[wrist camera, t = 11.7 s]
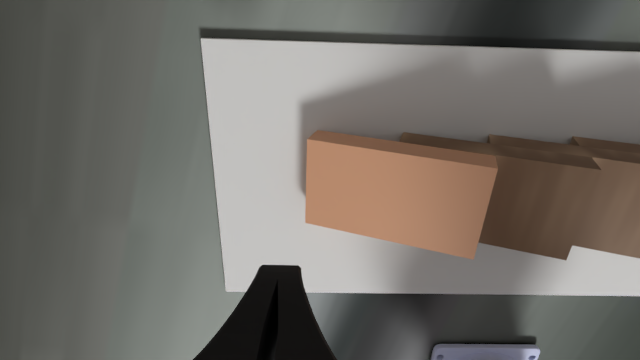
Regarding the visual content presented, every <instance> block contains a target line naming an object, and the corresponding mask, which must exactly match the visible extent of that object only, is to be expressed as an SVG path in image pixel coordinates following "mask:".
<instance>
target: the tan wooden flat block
mask: <svg viewBox="0 0 640 360" xmlns="http://www.w3.org/2000/svg"><path fill="white" fill-rule="evenodd" d="M497 171H498V166H497V161H496V156H493V155H486V154H479V153H472V152H465V151H459V150H452V149H445V148H438V147H431V146H424V145H417V144H411V143H404V142H397V141H390V140H383V139H376V138H369V137H363V136H356V135H349V134H342V133H335V132H328V131H321V130H317V131H316V132H315V133H313V134H312V135H311V136H310V137H309V138H308V139H307V165H306V208H305V223H308V224H313V225H317V226H322V227H326V228H331V229H335V230H340V231H345V232H349V233H354V234H358V235H363V236H367V237H372V238H377V239H381V240H386V241H390V242H395V243H399V244H404V245H409V246H413V247H418V248H422V249H427V250H431V251H436V252H441V253H445V254H450V255H454V256H459V257H463V258H468V259H473V260H474V257H475V253H476V249H477V245H478V242H479V238H480V234H481V230H482V227H483V223H484V219H485V215H486V212H487V208H488V204H489V200H490V197H491V193H492V189H493V186H494V182H495V178H496V174H497Z"/></svg>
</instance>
